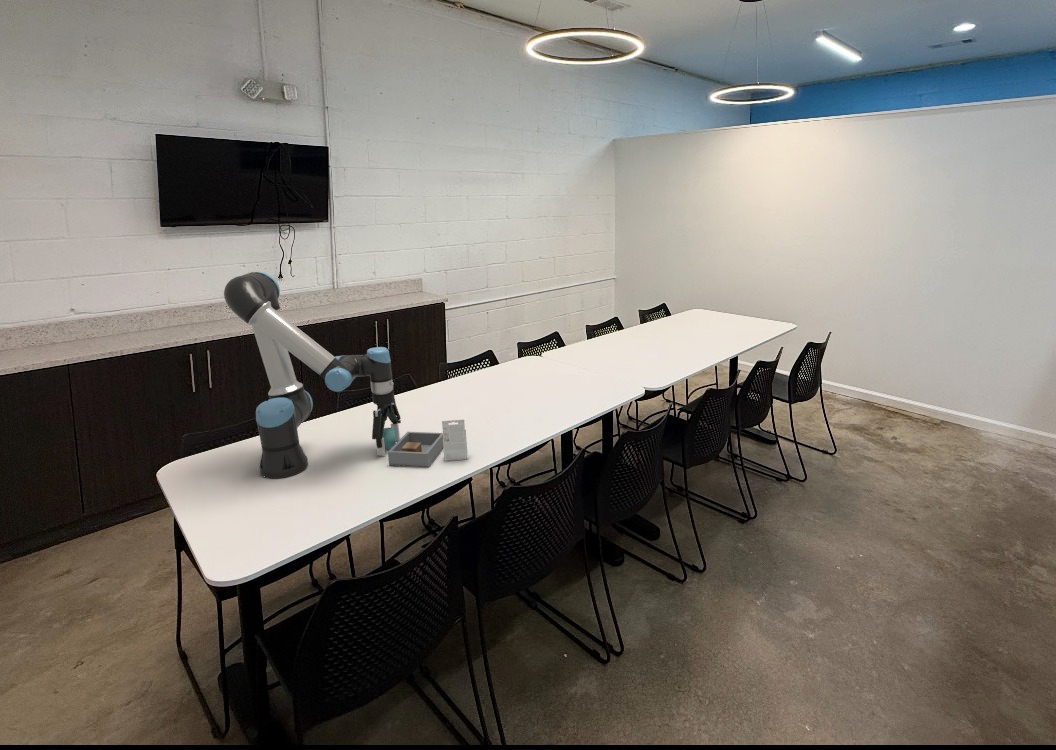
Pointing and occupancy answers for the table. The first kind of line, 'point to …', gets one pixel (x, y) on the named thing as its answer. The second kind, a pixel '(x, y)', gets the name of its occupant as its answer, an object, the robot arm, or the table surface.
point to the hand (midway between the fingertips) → (389, 447)
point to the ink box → (454, 440)
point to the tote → (430, 451)
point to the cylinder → (389, 438)
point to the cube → (412, 447)
